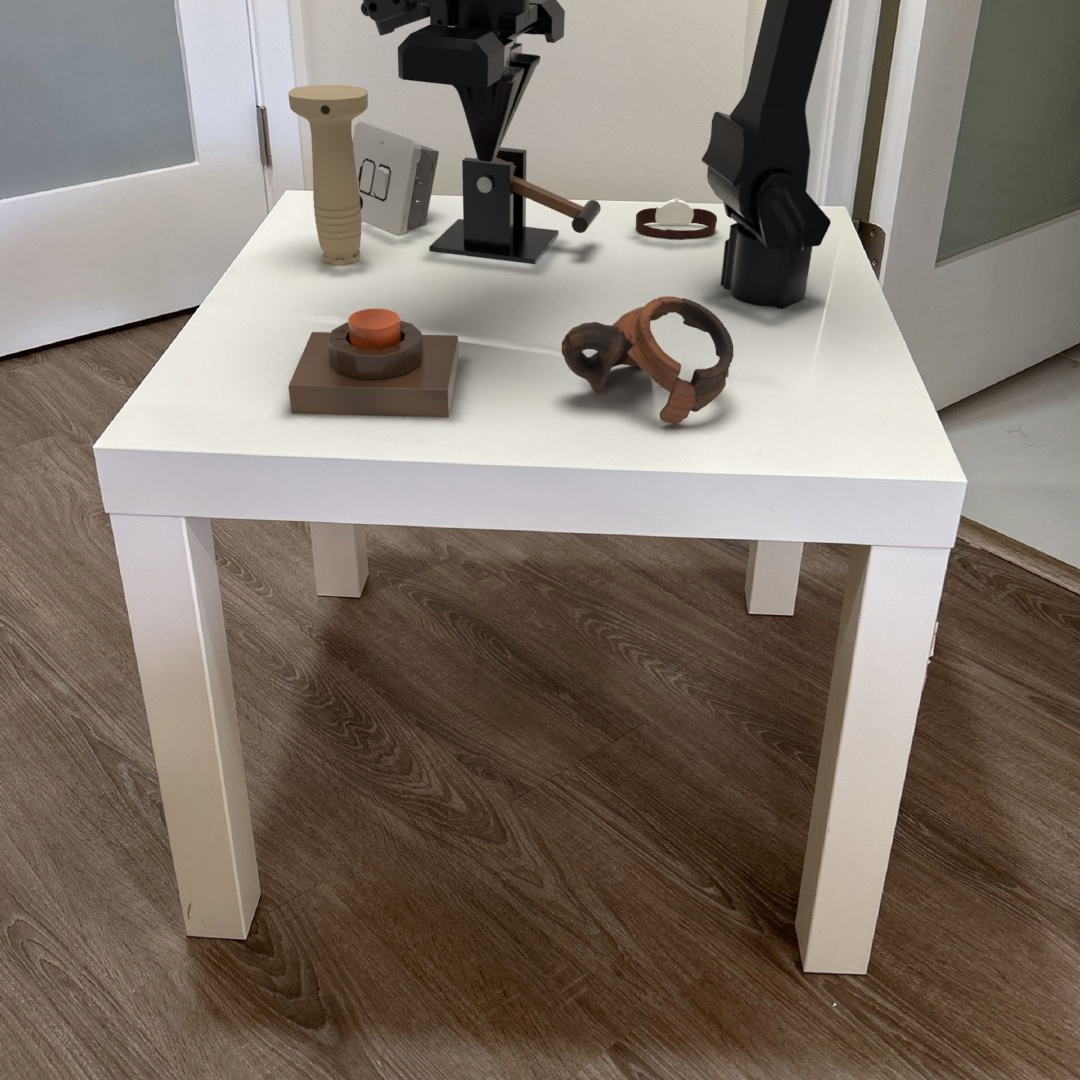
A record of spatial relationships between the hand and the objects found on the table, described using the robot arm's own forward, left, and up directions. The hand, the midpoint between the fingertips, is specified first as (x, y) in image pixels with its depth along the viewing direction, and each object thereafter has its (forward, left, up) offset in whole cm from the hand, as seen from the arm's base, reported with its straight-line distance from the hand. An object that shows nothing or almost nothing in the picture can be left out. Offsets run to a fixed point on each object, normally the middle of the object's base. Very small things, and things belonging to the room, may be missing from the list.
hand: (486, 160), depth 87 cm
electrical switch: (+25, -9, -14) cm, 30 cm away
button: (-2, +13, -10) cm, 16 cm away
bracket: (+13, -12, -13) cm, 22 cm away
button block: (-2, +13, -13) cm, 19 cm away
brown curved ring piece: (-16, 0, -14) cm, 21 cm away
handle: (+19, +1, -14) cm, 23 cm away
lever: (+10, -14, -9) cm, 19 cm away
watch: (+4, -27, -14) cm, 31 cm away
